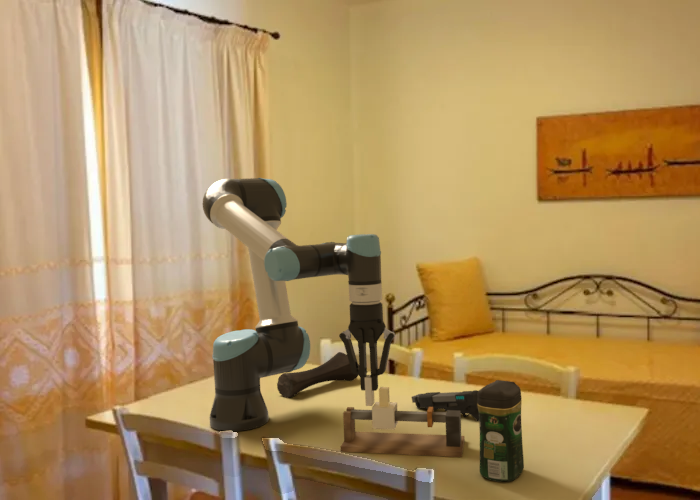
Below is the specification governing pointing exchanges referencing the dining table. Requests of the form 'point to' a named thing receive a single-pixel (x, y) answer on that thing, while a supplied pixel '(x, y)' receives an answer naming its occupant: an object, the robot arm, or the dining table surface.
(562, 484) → the dining table surface
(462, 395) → the gun
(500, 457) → the coffee jar
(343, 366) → the dark brown bone
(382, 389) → the sleeve
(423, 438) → the slider rail stand
